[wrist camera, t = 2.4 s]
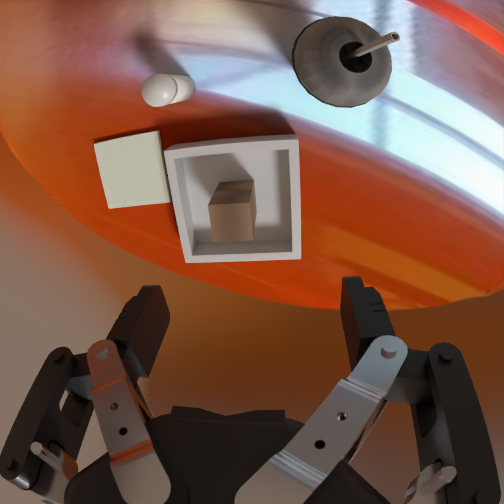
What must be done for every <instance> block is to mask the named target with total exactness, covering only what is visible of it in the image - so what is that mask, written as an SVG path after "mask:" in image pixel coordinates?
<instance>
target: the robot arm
mask: <svg viewBox="0 0 504 504" xmlns="http://www.w3.org/2000/svg"><path fill="white" fill-rule="evenodd" d="M340 314H341V321H342V326H343V331H344V336H345V341H346V346H347V351H348V356H349V362H350V367H351V374H350V376H349V377H348V378H347V379H345V378H343V379H342V380H340V382H339V383H338V384H337V385H336V387H335V388H334V389H333V391H332V392H331V393H330V395H329V396H328V397H327V398H326V400H325V401H324V402H323V403H322V405H321V406H320V407H319V408H318V409H317V411H316V412H315V413H314V414H313V416H312V417H311V418H310V419H309V420H308V422H307V423H306V424H303V423H302V422H299V421H297V420H294V419H290V418H285V410H255V411H250V412H245V413H240V414H235V415H229V416H224V415H220V414H217V413H213V412H210V411H206V410H203V409H200V408H191V407H180V406H173V407H172V411H171V413H170V414H165V415H161V416H158V417H156V418H154V417H153V415H152V413H151V411H150V409H149V407H148V404H147V402H146V400H145V398H144V396H143V393H142V391H141V389H140V386H139V384H138V383H137V381H138V378H139V377H145V378H148V377H149V375H150V372H151V370H152V367H153V364H154V362H155V359H156V356H157V354H158V351H159V349H160V346H161V343H162V341H163V338H164V336H165V333H166V330H167V328H168V325H169V322H170V312H169V309H168V306H167V303H166V300H165V297H164V294H163V291H162V289H161V287H160V286H159V285H144V286H142V288H141V290H140V291H139V293H138V295H137V296H134V297H132V299H131V300H129V301H128V302H127V303H126V304H125V306H124V308H123V310H122V312H121V313H120V315H119V317H118V319H117V320H116V322H115V323H114V325H113V327H112V329H111V331H110V332H109V334H108V336H107V338H106V340H100V341H98V342H96V343H94V344H93V345H92V346H91V347H90V348H89V350H88V352H87V353H83V354H77V355H73V354H72V352H71V350H70V349H69V348H67V347H59V348H57V349H55V350H53V351H52V352H51V353H50V354H49V355H48V357H47V359H46V360H45V362H44V364H43V366H42V368H41V370H40V371H39V373H38V375H37V377H36V379H35V381H34V383H33V385H32V387H31V389H30V390H29V393H28V394H27V397H26V398H25V401H24V403H23V405H22V407H21V409H20V411H19V413H18V415H17V417H16V420H15V422H14V424H13V426H12V428H11V431H10V433H9V435H8V438H7V440H6V442H5V445H4V447H3V450H2V452H1V455H0V474H1V476H2V477H3V478H5V479H6V480H8V481H9V482H11V483H12V484H14V485H15V486H16V487H18V488H19V489H21V490H22V491H24V492H25V493H27V494H29V495H30V496H32V497H34V498H36V499H38V500H41V501H43V502H45V503H46V504H391V503H390V502H389V501H387V499H386V498H385V497H383V496H382V495H381V494H380V493H379V492H378V491H377V490H376V489H374V488H373V487H372V486H371V485H370V484H369V483H368V482H367V481H366V480H365V479H364V478H363V477H362V476H361V475H359V474H358V473H357V472H356V471H355V470H354V469H353V468H352V467H351V466H350V465H349V463H350V462H351V460H352V459H353V458H354V456H355V455H356V453H357V452H358V450H359V449H360V447H361V446H362V444H363V442H364V441H365V439H366V437H367V436H368V434H369V432H370V431H371V429H372V428H373V426H374V424H375V423H376V421H377V420H378V418H379V416H380V415H381V413H382V411H383V410H384V408H385V406H386V404H387V403H388V401H394V402H402V403H409V404H410V407H411V412H412V417H413V423H414V429H415V435H416V441H417V448H418V455H419V463H420V471H421V473H420V474H418V475H417V477H415V478H414V479H413V480H412V481H411V482H410V484H409V486H408V488H407V491H406V498H405V502H404V504H499V502H500V497H501V490H500V484H499V478H498V473H497V468H496V463H495V459H494V454H493V450H492V446H491V442H490V438H489V434H488V431H487V427H486V424H485V420H484V417H483V413H482V410H481V407H480V404H479V400H478V398H477V394H476V392H475V389H474V386H473V383H472V380H471V377H470V374H469V372H468V369H467V367H466V364H465V361H464V359H463V356H462V354H461V352H460V351H459V349H458V348H457V347H455V346H454V345H452V344H449V343H437V344H435V345H433V346H432V347H431V349H430V351H429V352H427V351H420V350H413V349H409V348H407V346H406V345H405V343H404V342H403V341H402V340H400V339H399V338H397V337H396V335H395V332H394V329H393V326H392V324H391V321H390V318H389V316H388V313H387V311H386V308H385V305H384V304H383V300H382V297H381V295H380V293H379V292H377V291H376V290H375V289H374V288H373V287H364V285H363V282H362V279H361V277H360V276H352V277H343V279H342V290H341V303H340ZM65 390H66V391H67V392H68V393H69V394H68V396H67V398H66V401H65V403H64V405H63V408H62V410H61V411H60V407H59V403H60V400H61V398H62V396H63V393H64V391H65ZM94 408H95V412H96V415H97V418H98V422H99V425H100V429H101V432H102V435H103V438H104V441H105V444H106V447H107V450H108V452H107V453H105V454H104V455H103V456H101V457H100V458H99V459H97V460H96V461H94V462H93V463H92V464H90V465H89V466H88V467H86V468H84V469H83V470H82V471H80V472H78V465H77V462H76V460H77V457H78V454H79V450H80V447H81V444H82V441H83V438H84V435H85V432H86V429H87V427H88V424H89V421H90V418H91V415H92V413H93V410H94Z"/></svg>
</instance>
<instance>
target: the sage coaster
mask: <svg viewBox="0 0 504 504" xmlns="http://www.w3.org/2000/svg"><path fill="white" fill-rule="evenodd" d="M94 148H95V153H96V157H97V162H98V166H99V171H100V175H101V179H102V184H103V188H104V192H105V196H106V199H107V203H108V207H109V209H111V208H119V207H128V206H137V205H147V204H157V203H168V202H171V196H170V190H169V185H168V180H167V174H166V168H165V163H164V157H163V151H162V145H161V139H160V132H159V130H157V131H151V132H146V133H140V134H135V135H130V136H125V137H120V138H116V139H111V140H107V141H103V142H98V143H95V144H94Z"/></svg>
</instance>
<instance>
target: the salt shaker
mask: <svg viewBox="0 0 504 504" xmlns="http://www.w3.org/2000/svg"><path fill="white" fill-rule="evenodd" d="M195 91H196V84H195V82H194V80H193V79H192V78H190V77H188V76H183V75H169V74H161V73H158V74H153V75H151V76H150V77H148V78H147V79H146V80H145V82H144V83H143V86H142V97H143V99H144V101H145V102H146V103H147V104H149V105H151V106H154V107H159V106H164V105H167V104H171V103H175V102H180V101H185V100H188V99H190V98H191V97H192V96H193V95H194V93H195Z"/></svg>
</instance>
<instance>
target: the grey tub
mask: <svg viewBox="0 0 504 504" xmlns="http://www.w3.org/2000/svg"><path fill="white" fill-rule="evenodd" d="M164 156H165V162H166V167H167V173H168V179H169V184H170V190H171V195H172V200H173V205H174V210H175V215H176V220H177V225H178V230H179V234H180V239H181V244H182V248H183V253H184V257H185V262H186V263H201V262H232V261H261V260H288V259H301V206H300V169H299V144H298V138H297V136H296V134H286V135H266V136H250V137H237V138H226V139H215V140H206V141H197V142H189V143H181V144H174V145H172V146H171V147H169V148H168V149H166V150H165V151H164ZM245 180H254V185H255V196H256V208H257V214H256V222H255V229H254V237H253V240H245V241H222V242H213V236H212V230H211V223H210V217H209V211H208V204H209V202H210V200H211V198H212V196H213V194H214V192H215V190H216V188H217V186H218V184H219V182H230V181H245Z"/></svg>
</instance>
